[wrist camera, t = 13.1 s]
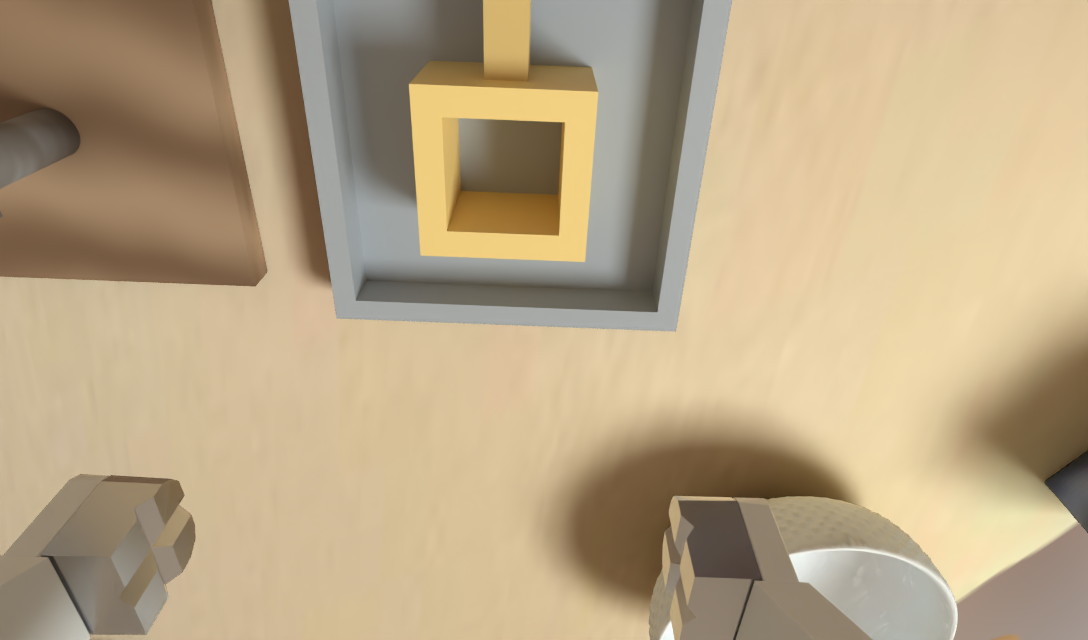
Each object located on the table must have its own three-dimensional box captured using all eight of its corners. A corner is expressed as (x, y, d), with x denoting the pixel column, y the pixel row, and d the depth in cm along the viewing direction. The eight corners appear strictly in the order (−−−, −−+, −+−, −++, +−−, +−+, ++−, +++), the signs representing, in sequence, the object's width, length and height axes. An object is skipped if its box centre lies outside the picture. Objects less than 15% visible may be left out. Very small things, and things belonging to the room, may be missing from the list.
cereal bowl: (797, 649, 48) (832, 753, 42) (595, 589, 45) (602, 693, 39) (960, 502, 40) (1033, 605, 34) (728, 415, 37) (762, 513, 31)
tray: (668, 304, 33) (676, 331, 31) (350, 292, 33) (336, 318, 31) (725, -63, 24) (742, -61, 22) (300, -81, 24) (276, -81, 22)
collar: (581, 218, 30) (585, 261, 26) (437, 212, 30) (420, 255, 26) (597, -16, 25) (605, -4, 21) (425, -23, 25) (402, -13, 21)
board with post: (267, 271, 32) (202, 351, 26) (-18, 260, 32) (-149, 338, 26) (199, -55, 25) (87, -48, 19) (-170, -71, 25) (-401, -69, 19)
